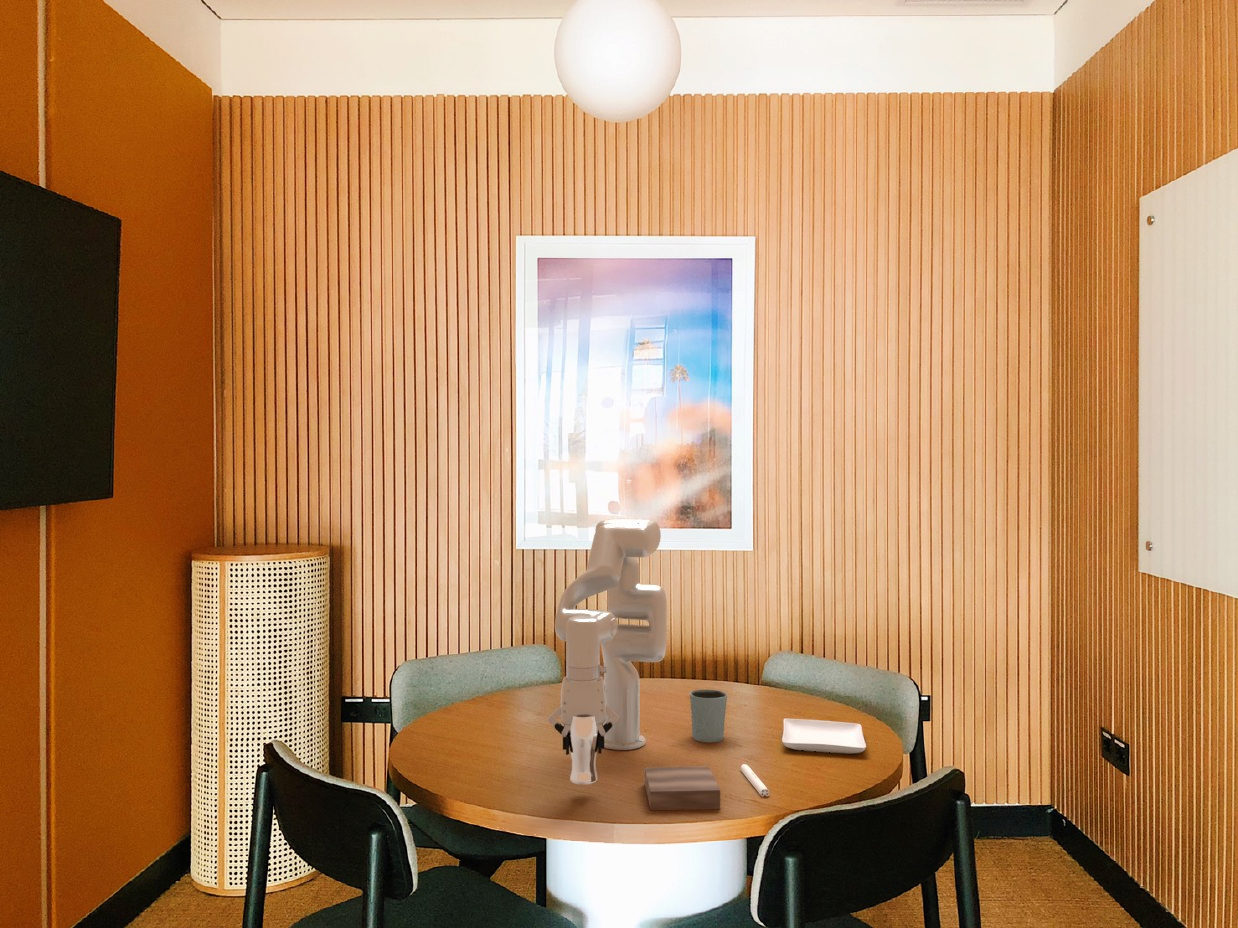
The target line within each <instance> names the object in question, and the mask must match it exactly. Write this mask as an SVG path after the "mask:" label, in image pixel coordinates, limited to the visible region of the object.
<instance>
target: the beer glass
mask: <svg viewBox="0 0 1238 928" xmlns="http://www.w3.org/2000/svg"><path fill="white" fill-rule="evenodd" d="M569 726H570V727H569V731H568V737H569V753H570V758H571V771H570V775H569V780H570V782H571V783H573V784H576V785H580V786H581V785H582V786H583V785H584V786H585V785H592V784H593V783H596V782H597V781H598V773H597V768H596V767H597V766H596V764H597V763H596V762H597V761H596V760H597V754H598V736H599V730H598V724H596V721H595V716H589V717H577V716H573V720H572V724H571V725H569Z"/></svg>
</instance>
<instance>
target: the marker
mask: <svg viewBox="0 0 1238 928" xmlns="http://www.w3.org/2000/svg"><path fill="white" fill-rule="evenodd" d="M740 771H741V773H742V774H743V775H744V776H745V777H746V779H747V780H748V782H750V784H751V785H752V786H753V787H754V789H755V790H756V792H758V794H759V795H760V796H761V797H764V796H765V797H769V796H770V790H769V788H767V787H766V785H765V784H764V783H763V782H762V780H761V779H760V778H759V777H758V776H757V774H756V773H755V772H754V771H753V770H752V769H751V767H750V766H749V765H748V764H745V763H743V764H742V765H741V766H740Z"/></svg>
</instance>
